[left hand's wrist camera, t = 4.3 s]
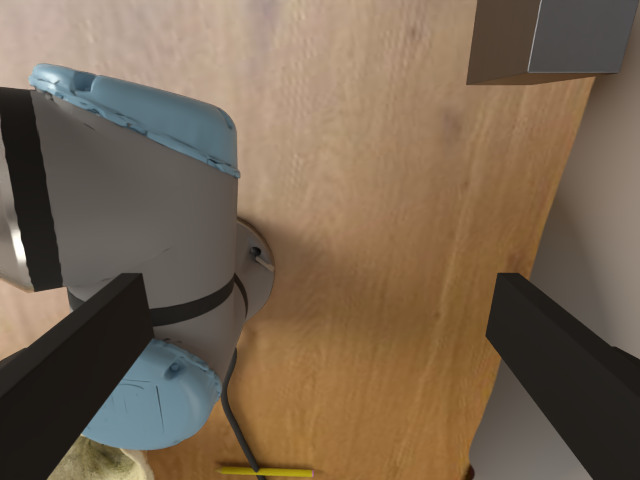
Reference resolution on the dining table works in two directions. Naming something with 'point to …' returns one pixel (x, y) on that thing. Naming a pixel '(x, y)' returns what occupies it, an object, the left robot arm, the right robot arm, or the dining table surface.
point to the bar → (548, 40)
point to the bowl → (102, 463)
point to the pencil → (266, 471)
